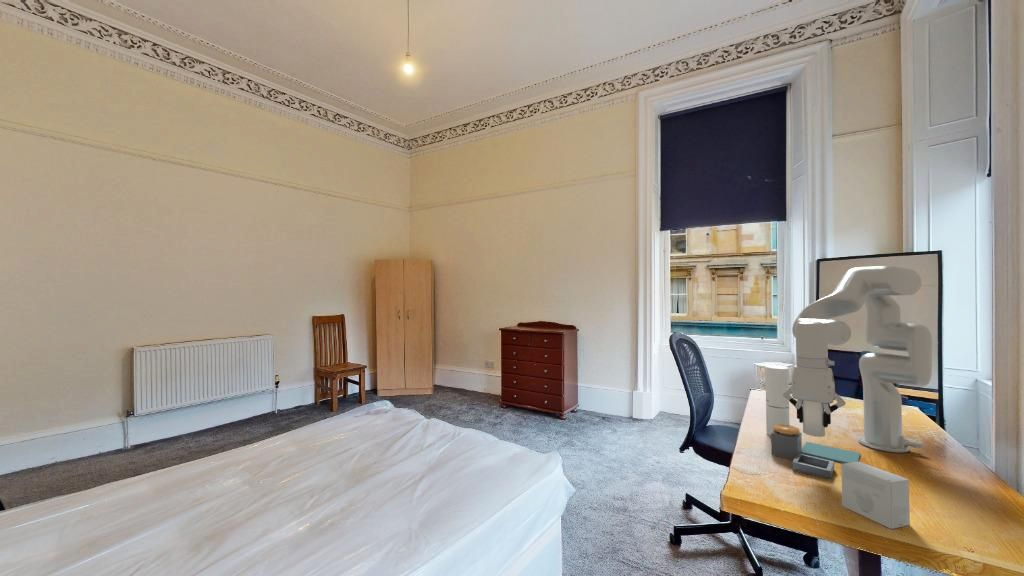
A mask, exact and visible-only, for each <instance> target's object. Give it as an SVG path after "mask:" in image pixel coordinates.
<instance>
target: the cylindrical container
mask: <svg viewBox="0 0 1024 576" xmlns="http://www.w3.org/2000/svg"><path fill="white" fill-rule="evenodd" d="M764 369H765V416H766V417H765V420H766V422H765V423H766V425H765V426H766V427H765V429H766V430H765V431H766V432H767V433H766V434H767V435H768V434H769V435H768V436H770V435H771V433H772V432H773V430H774V429H773V426H774V425H776V424H784V425H790V401H789V400H787V399H786V398H785V397H784V396H783V394H784V393H785V392H786V391H787V390H789V389H790V383H789V382H790V378H789V377H790V376H789V375H790V373H789V372H790V371H789V367H787V366H784V365H783V366H782V365H774V364H773V365H765V368H764Z"/></svg>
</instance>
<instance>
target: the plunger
mask: <svg viewBox="0 0 1024 576" xmlns="http://www.w3.org/2000/svg"><path fill="white" fill-rule="evenodd" d="M773 429H774V430H775V431H777V432H779V433H780V434H784V435H789V436H793V435H797V434H800V433H801V432H800V428H798V427H797V426H793V425H790V424H789V425H784V424H776V425H774V426H773Z"/></svg>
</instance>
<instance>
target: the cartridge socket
mask: <svg viewBox="0 0 1024 576" xmlns="http://www.w3.org/2000/svg"><path fill="white" fill-rule="evenodd" d="M791 462H792V471H793V472H794V471H795V472H798V473H801V474H804V475H805V474H806V475H808V476H809V475H810V476H813V477H816V478H820V479H826V480H829V481H831V480H832V477H833V475H834V472H835V461H831V460H827V459H822V458H818V457H814V456H809V455H805V454H800V453H798V454H797V456H796V457H795V459H794V460H792V461H791Z"/></svg>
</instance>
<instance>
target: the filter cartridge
mask: <svg viewBox="0 0 1024 576" xmlns="http://www.w3.org/2000/svg"><path fill="white" fill-rule="evenodd" d="M802 410H803V423H802V433H803V434H805V435H807V436H808V435H809V436H811V437H817V438H819V437H821V438H822V437H825V436H826V427H824V417H823V414H824V412H825V409H824V407H823V404H822V403H820V402H814V401H807V400H803V401H802Z"/></svg>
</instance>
